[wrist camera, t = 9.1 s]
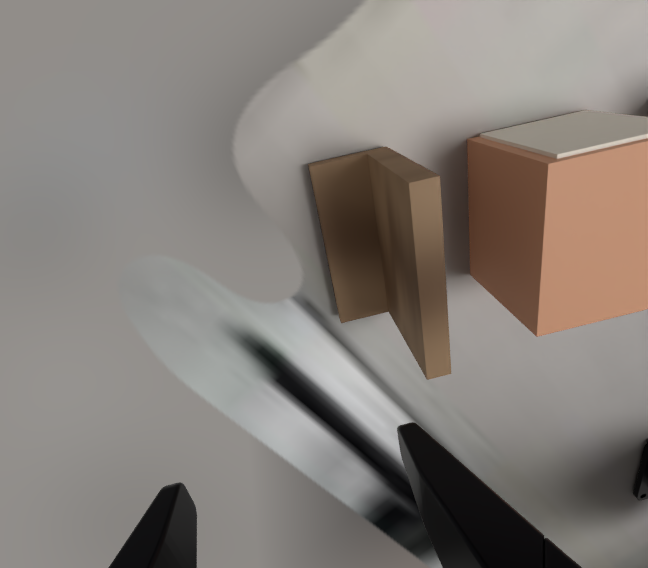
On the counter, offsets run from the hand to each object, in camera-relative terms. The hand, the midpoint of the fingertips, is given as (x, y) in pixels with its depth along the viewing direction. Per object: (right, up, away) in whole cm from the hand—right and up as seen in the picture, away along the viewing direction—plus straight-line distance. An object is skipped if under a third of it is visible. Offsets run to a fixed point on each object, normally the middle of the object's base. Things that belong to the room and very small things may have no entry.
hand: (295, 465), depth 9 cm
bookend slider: (+2, +6, +11) cm, 13 cm away
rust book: (+11, +8, +11) cm, 18 cm away
